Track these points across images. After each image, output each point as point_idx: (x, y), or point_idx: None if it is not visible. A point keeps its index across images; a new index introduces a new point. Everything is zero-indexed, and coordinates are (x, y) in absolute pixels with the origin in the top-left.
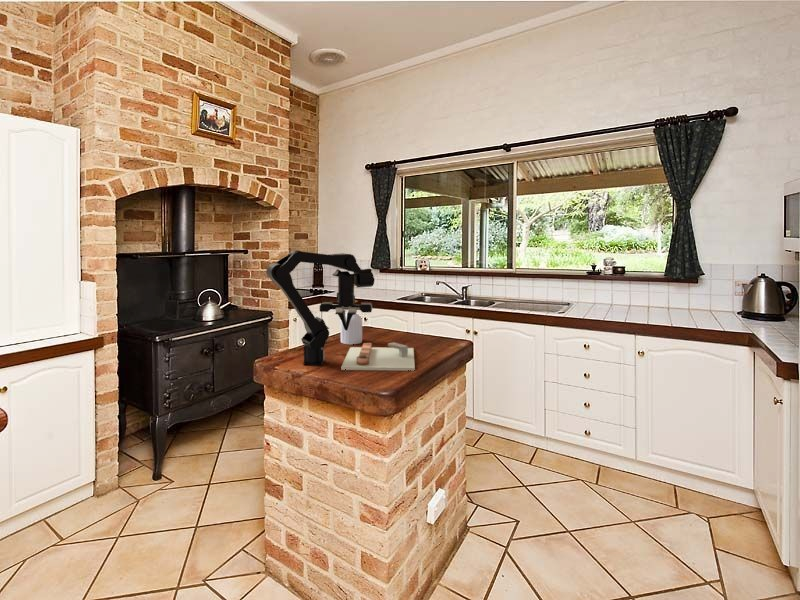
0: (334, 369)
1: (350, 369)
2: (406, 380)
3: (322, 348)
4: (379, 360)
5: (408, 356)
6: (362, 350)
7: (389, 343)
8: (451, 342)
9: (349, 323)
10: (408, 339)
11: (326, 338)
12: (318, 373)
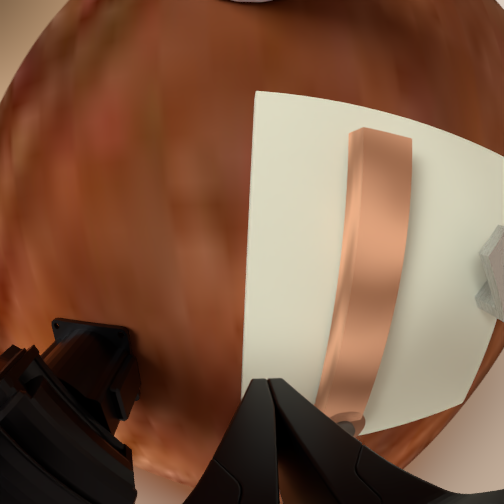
0: (211, 435)
1: None
2: (410, 457)
3: (109, 399)
4: (402, 362)
5: None
6: (354, 329)
7: (493, 255)
8: None
9: (332, 436)
10: (474, 11)
11: (133, 484)
12: (165, 458)
